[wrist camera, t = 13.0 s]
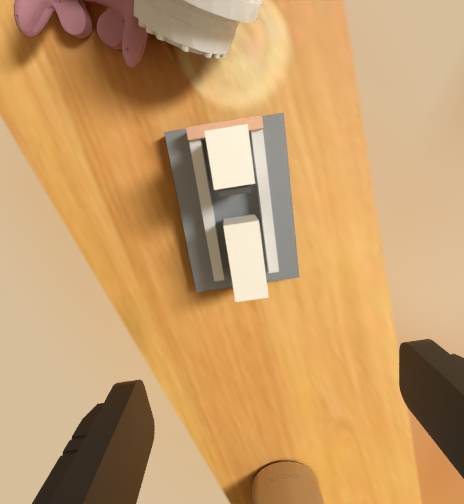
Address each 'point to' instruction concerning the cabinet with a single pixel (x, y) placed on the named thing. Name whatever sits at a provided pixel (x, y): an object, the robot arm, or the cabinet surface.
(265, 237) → the rail mount
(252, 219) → the cream block
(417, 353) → the robot arm
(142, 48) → the pink curved lobed piece
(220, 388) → the cabinet surface
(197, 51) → the mechanical component
